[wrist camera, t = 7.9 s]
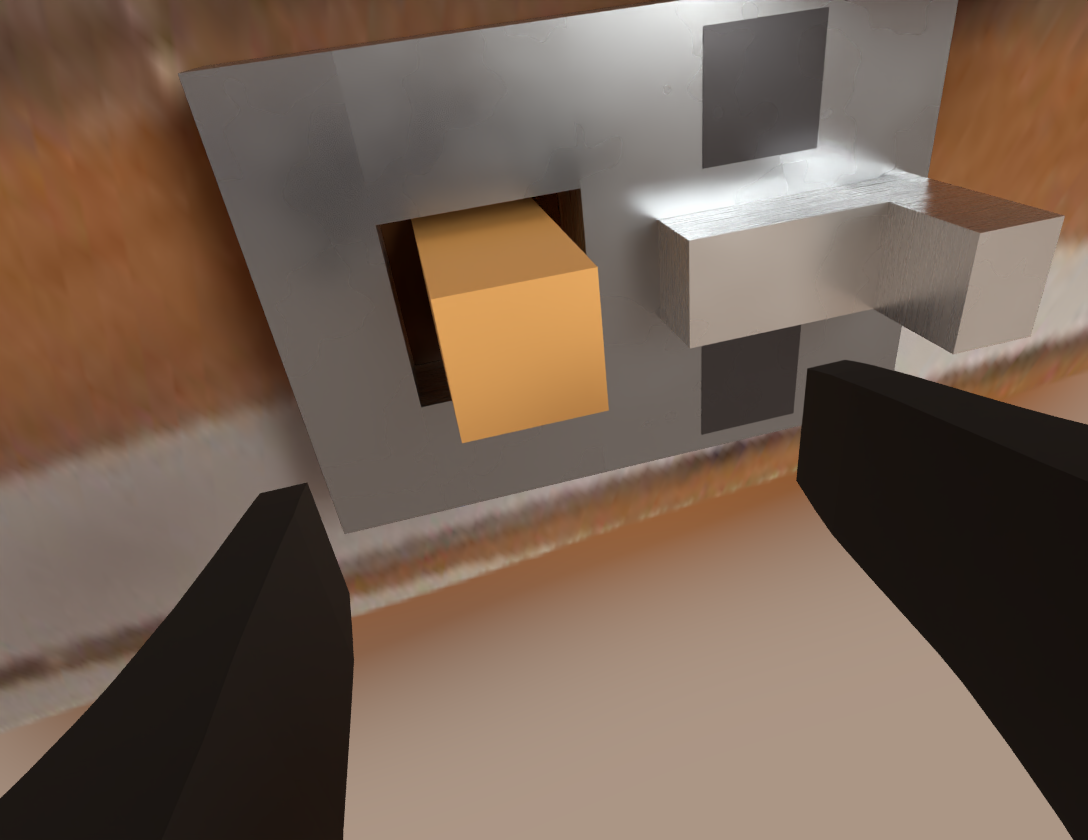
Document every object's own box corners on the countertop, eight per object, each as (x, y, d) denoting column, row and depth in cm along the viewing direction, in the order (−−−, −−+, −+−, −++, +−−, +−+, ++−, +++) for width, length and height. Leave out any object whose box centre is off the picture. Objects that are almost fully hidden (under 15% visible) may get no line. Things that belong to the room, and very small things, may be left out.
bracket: (660, 319, 17) (743, 402, 13) (657, 219, 16) (748, 280, 12) (891, 271, 18) (1030, 336, 14) (907, 172, 16) (1064, 215, 13)
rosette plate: (346, 482, 20) (344, 534, 18) (203, 66, 14) (177, 73, 12) (840, 369, 22) (888, 405, 20) (891, -34, 16) (966, -41, 14)
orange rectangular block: (434, 326, 18) (462, 443, 13) (410, 215, 17) (430, 299, 12) (542, 305, 19) (608, 410, 14) (528, 194, 17) (598, 266, 12)
